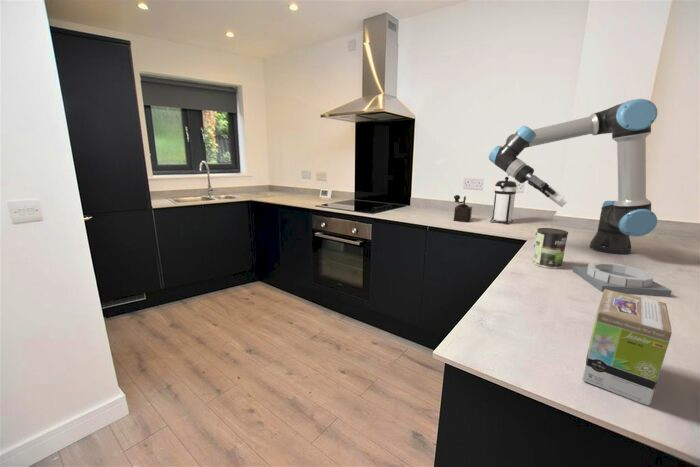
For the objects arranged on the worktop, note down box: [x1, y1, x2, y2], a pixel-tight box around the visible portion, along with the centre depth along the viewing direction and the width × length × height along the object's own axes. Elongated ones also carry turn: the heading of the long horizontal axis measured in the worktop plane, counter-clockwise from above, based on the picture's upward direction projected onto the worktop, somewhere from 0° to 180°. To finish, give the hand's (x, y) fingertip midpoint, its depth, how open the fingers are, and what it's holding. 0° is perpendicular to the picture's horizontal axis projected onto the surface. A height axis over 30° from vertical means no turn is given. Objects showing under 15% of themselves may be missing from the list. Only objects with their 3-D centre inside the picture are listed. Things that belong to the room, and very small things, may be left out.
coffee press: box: [489, 176, 518, 225], centre depth 207 cm, size 17×16×30 cm
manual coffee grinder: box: [453, 194, 473, 223], centre depth 211 cm, size 16×11×18 cm
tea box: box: [581, 289, 673, 406], centre depth 61 cm, size 15×10×15 cm, turn 138°
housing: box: [572, 261, 672, 298], centre depth 108 cm, size 19×19×4 cm
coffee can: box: [532, 227, 569, 270], centre depth 125 cm, size 10×10×14 cm
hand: (563, 202), depth 127 cm, fingers open, 13 cm apart
